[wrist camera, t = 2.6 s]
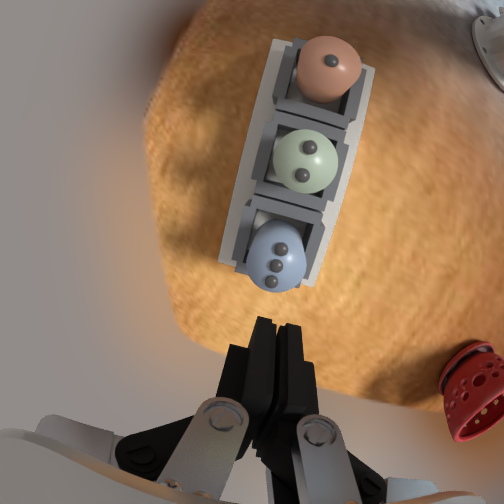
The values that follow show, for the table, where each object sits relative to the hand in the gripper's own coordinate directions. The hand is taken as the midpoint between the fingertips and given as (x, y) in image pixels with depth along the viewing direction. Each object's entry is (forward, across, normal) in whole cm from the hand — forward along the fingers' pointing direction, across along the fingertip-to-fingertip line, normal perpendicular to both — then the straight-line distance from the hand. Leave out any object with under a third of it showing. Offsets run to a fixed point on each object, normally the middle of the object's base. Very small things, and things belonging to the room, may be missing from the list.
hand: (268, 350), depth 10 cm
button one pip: (+14, 0, -14) cm, 20 cm away
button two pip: (+14, 0, -7) cm, 15 cm away
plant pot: (+18, -36, +13) cm, 43 cm away
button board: (+18, 0, -7) cm, 20 cm away
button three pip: (+14, 0, 0) cm, 14 cm away
